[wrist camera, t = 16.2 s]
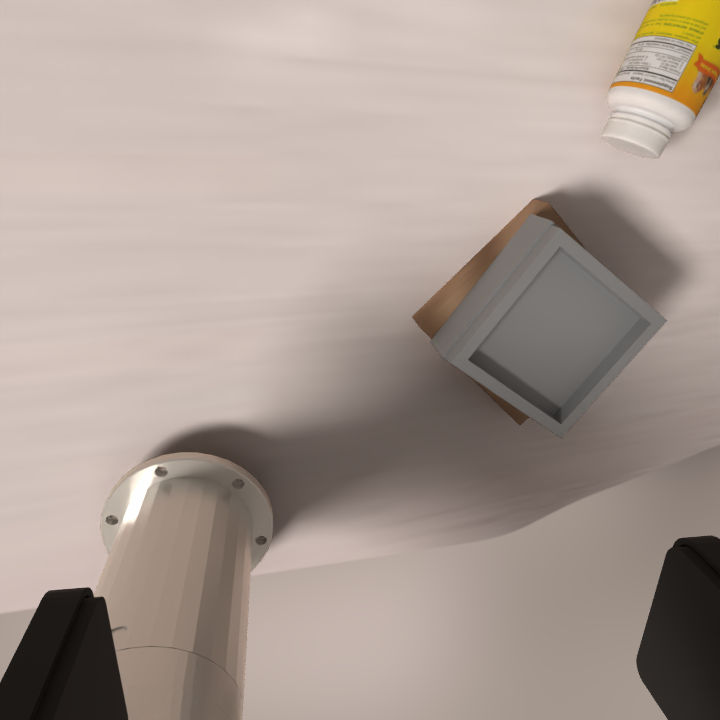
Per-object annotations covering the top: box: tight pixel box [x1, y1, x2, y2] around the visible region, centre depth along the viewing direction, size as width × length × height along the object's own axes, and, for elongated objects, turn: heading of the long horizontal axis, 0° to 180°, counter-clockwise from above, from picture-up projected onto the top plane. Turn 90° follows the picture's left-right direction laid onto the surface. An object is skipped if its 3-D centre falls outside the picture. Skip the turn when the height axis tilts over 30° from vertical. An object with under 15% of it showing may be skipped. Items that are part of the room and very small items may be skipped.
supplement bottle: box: [601, 0, 720, 159], centre depth 35 cm, size 6×6×10 cm
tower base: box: [412, 199, 587, 425], centre depth 42 cm, size 12×12×3 cm
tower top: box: [430, 214, 667, 438], centre depth 39 cm, size 11×11×4 cm
